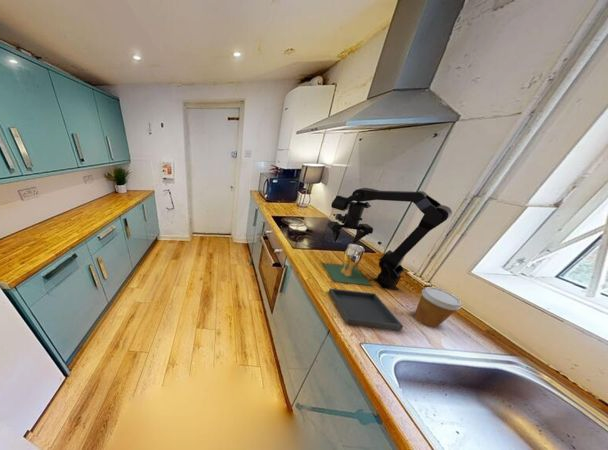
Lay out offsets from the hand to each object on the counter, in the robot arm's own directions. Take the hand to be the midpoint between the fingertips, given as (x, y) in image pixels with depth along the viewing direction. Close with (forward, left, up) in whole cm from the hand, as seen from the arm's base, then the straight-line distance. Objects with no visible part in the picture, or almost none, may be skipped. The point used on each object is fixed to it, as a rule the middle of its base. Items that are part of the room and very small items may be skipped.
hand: (344, 242), depth 101 cm
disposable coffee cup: (-16, +35, -12) cm, 40 cm away
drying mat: (+1, +11, -12) cm, 16 cm away
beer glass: (+1, +11, -12) cm, 16 cm away
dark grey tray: (+6, +34, -12) cm, 37 cm away
